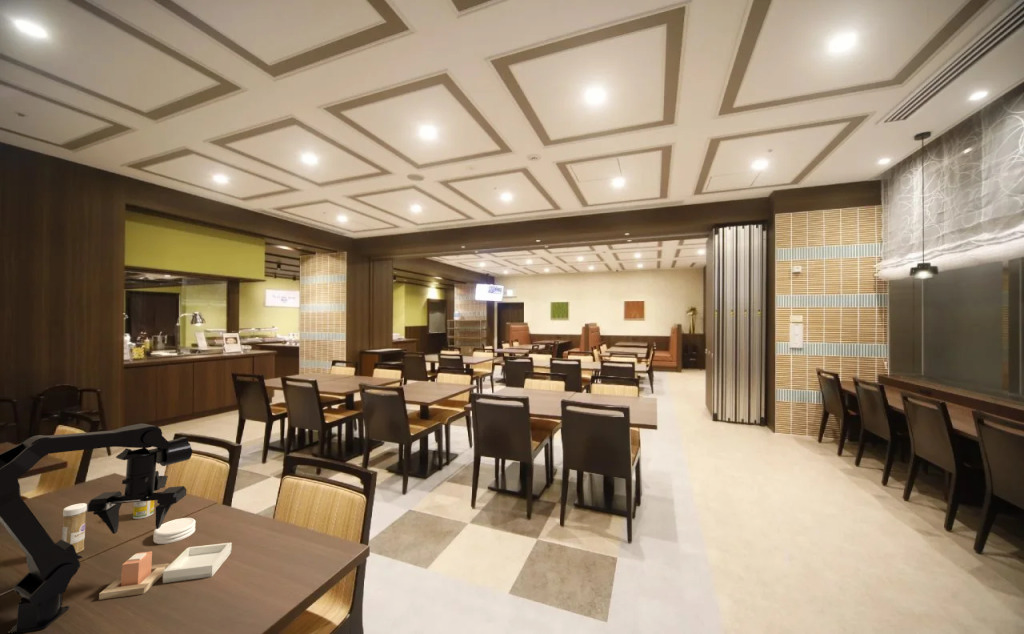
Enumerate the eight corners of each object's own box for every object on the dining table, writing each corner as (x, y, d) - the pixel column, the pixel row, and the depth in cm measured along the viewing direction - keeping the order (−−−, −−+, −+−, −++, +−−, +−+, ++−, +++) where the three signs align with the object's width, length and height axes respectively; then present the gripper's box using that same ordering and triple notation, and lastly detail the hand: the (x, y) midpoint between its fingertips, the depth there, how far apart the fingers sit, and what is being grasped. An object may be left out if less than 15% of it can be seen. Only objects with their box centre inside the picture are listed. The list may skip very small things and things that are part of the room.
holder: (143, 593, 93) (144, 587, 93) (99, 599, 91) (99, 593, 91) (169, 568, 103) (169, 563, 103) (129, 573, 100) (129, 567, 100)
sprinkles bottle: (80, 554, 108) (83, 507, 109) (57, 559, 106) (60, 511, 106) (87, 546, 112) (89, 501, 113) (64, 550, 110) (67, 504, 110)
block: (137, 588, 95) (139, 561, 95) (120, 591, 94) (122, 563, 94) (150, 576, 100) (152, 549, 100) (134, 578, 99) (136, 551, 99)
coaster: (201, 532, 121) (202, 521, 121) (162, 548, 112) (163, 536, 112) (185, 525, 125) (185, 514, 125) (146, 539, 116) (147, 528, 116)
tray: (211, 576, 100) (212, 565, 100) (162, 583, 97) (163, 571, 97) (231, 552, 110) (231, 542, 110) (187, 557, 107) (187, 547, 108)
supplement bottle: (138, 520, 127) (139, 492, 127) (129, 517, 129) (130, 489, 129) (157, 513, 132) (158, 486, 132) (148, 510, 134) (149, 483, 134)
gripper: (197, 459, 111) (194, 512, 110) (118, 464, 105) (114, 520, 104) (177, 472, 100) (173, 531, 99) (87, 479, 94) (82, 541, 94)
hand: (137, 530), depth 99 cm, fingers open, 9 cm apart
